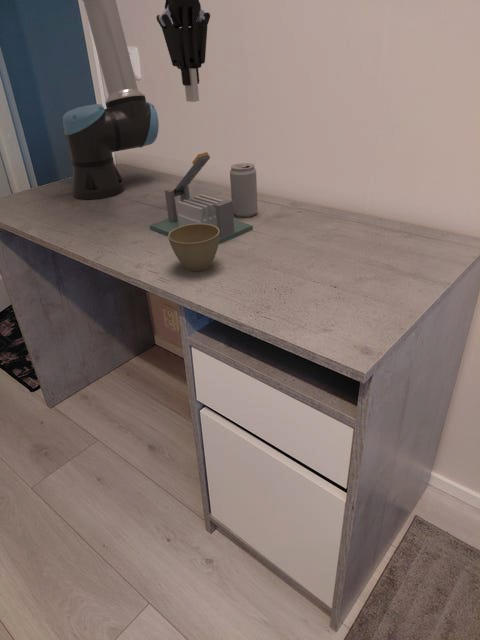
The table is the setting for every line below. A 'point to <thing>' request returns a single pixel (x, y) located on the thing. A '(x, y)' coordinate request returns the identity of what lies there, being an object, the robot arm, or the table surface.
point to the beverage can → (244, 189)
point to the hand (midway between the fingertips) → (192, 100)
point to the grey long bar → (191, 173)
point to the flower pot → (195, 245)
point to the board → (201, 215)
